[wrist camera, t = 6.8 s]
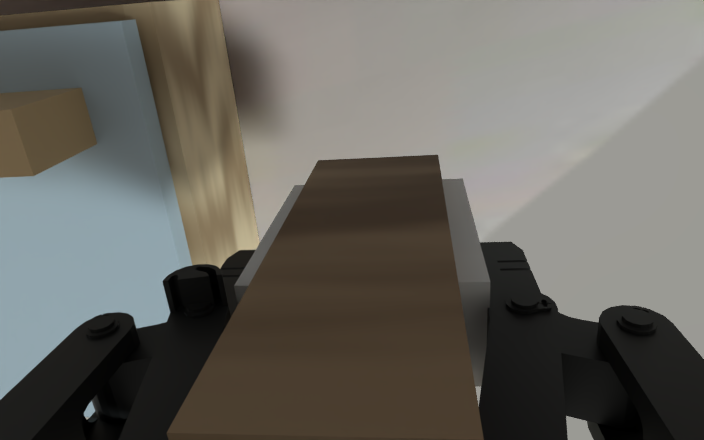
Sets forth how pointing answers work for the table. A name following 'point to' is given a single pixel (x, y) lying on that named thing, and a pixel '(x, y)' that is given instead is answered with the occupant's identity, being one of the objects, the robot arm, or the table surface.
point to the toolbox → (187, 115)
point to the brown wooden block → (347, 320)
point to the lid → (80, 189)
